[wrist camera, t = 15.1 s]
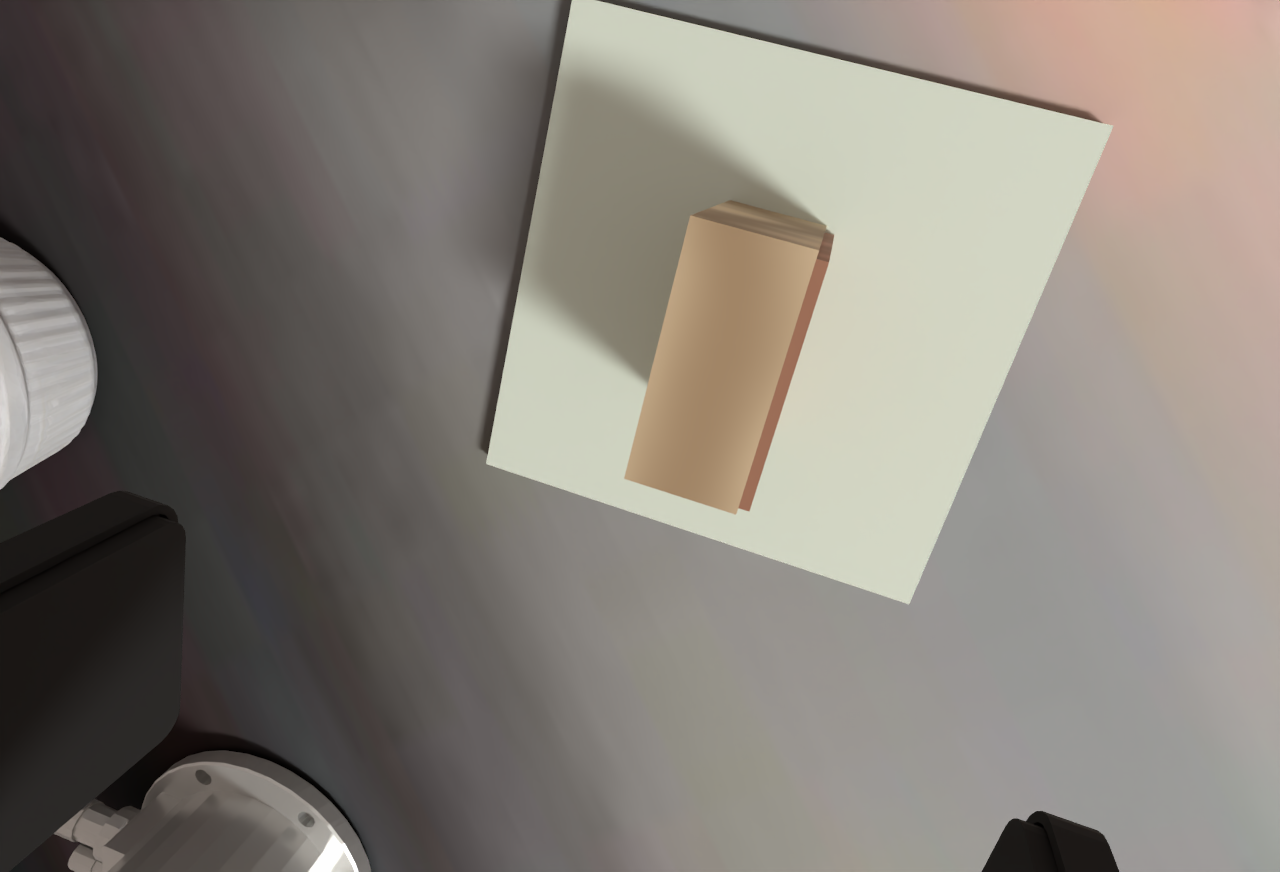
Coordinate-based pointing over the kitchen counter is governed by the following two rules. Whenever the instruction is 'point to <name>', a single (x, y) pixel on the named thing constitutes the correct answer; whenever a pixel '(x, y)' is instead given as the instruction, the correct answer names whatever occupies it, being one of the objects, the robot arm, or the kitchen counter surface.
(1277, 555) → the kitchen counter surface
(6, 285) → the ramekin
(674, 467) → the tan wooden block
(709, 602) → the kitchen counter surface
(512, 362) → the mat
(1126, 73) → the kitchen counter surface
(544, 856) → the kitchen counter surface
